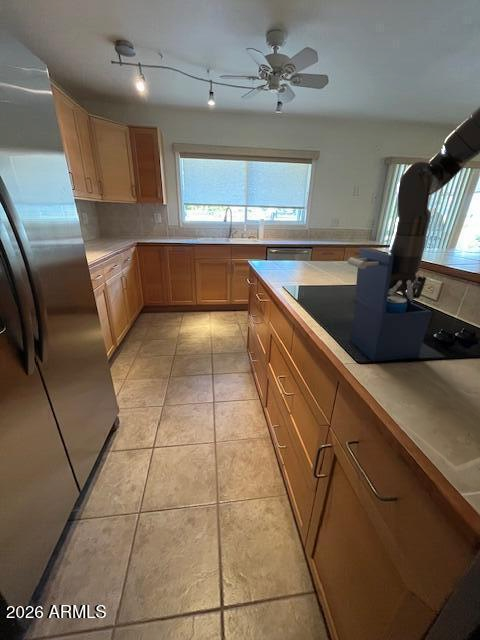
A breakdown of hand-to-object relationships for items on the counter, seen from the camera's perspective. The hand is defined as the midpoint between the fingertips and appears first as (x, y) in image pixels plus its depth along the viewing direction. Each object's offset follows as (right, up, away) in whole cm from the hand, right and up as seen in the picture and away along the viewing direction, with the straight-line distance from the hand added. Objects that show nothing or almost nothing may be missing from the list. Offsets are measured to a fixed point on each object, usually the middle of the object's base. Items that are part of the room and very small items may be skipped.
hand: (391, 313), depth 73 cm
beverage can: (0, -7, +3) cm, 8 cm away
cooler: (0, -10, +5) cm, 11 cm away
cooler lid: (-7, +9, -5) cm, 12 cm away
